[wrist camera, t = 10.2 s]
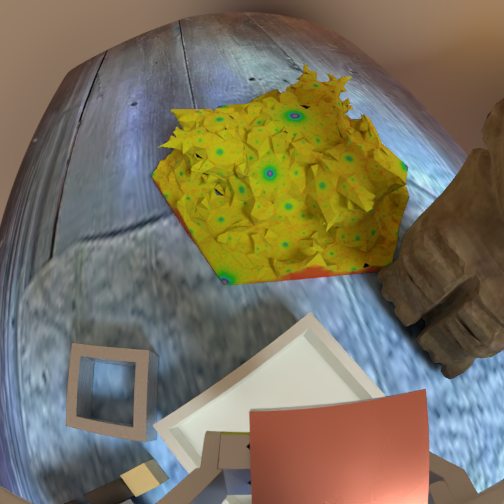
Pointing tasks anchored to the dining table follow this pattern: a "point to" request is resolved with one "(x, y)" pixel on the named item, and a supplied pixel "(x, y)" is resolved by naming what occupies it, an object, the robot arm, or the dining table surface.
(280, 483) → the pin
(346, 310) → the dining table surface
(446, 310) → the sculpture
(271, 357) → the tray
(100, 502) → the trolley
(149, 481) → the block
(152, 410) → the bracket
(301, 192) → the decorative piece
